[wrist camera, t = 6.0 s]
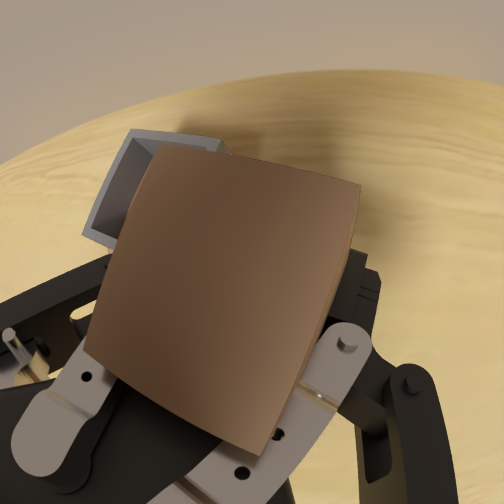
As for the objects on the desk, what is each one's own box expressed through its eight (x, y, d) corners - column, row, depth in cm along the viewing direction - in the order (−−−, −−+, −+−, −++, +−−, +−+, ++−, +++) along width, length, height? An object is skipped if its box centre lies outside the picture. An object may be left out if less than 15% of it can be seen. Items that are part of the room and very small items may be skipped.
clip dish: (280, 170, 19) (260, 121, 14) (225, 317, 18) (182, 315, 13) (163, 148, 22) (124, 110, 17) (112, 264, 21) (60, 248, 16)
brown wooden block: (341, 286, 16) (361, 185, 4) (316, 354, 16) (260, 455, 3) (283, 267, 17) (161, 143, 5) (258, 332, 17) (82, 350, 5)
